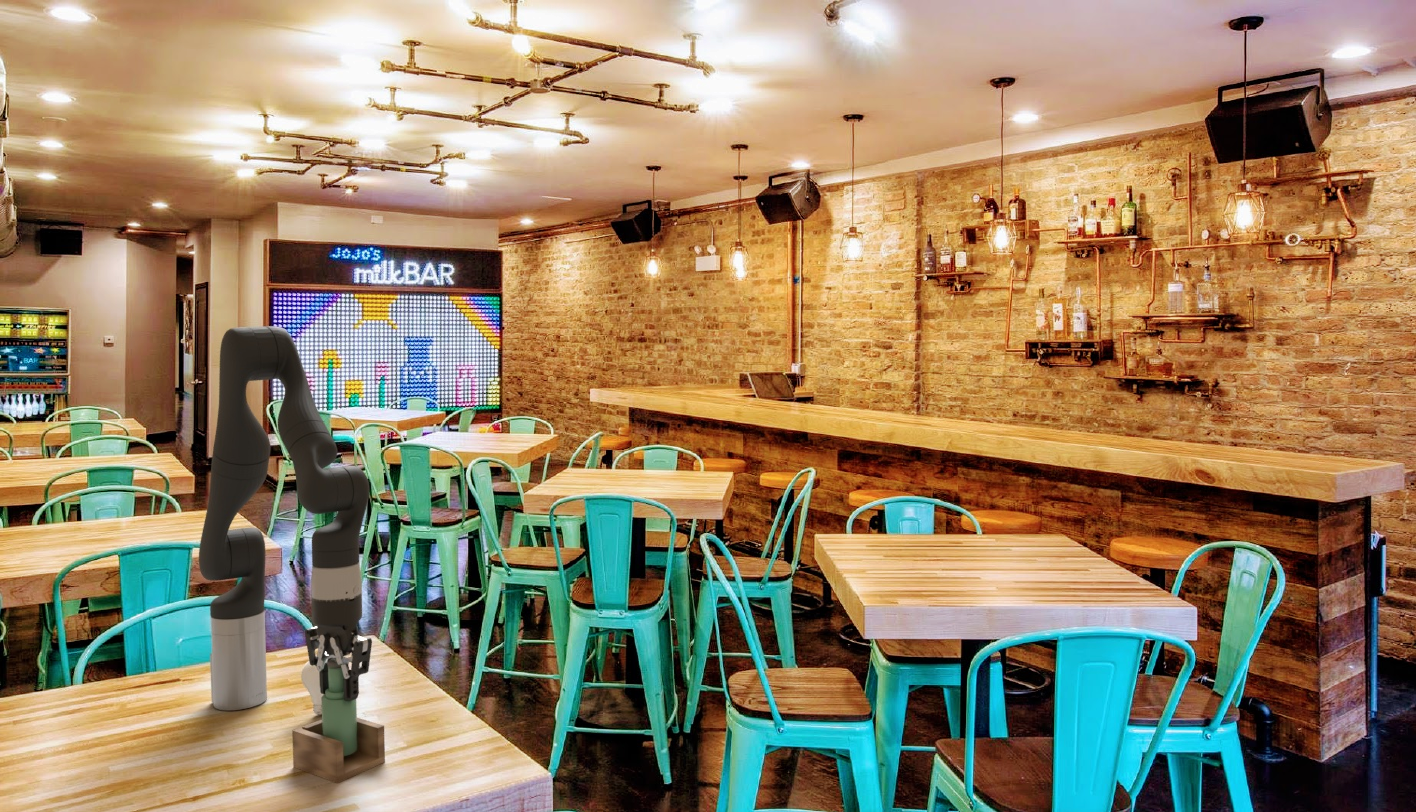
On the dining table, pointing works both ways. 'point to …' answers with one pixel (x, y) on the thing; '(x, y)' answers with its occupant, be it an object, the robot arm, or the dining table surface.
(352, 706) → the bottle
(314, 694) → the light bulb
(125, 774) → the dining table surface
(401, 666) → the dining table surface
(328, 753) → the brown open-sided frame
